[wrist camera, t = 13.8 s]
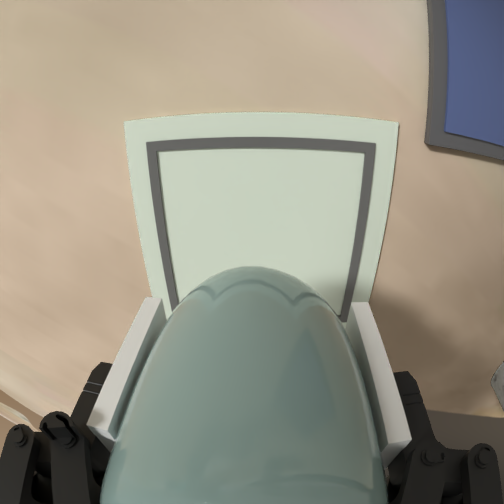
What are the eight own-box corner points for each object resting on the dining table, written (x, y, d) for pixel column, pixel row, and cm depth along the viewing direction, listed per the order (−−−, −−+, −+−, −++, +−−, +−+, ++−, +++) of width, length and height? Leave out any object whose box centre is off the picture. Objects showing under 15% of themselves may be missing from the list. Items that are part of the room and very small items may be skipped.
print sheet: (125, 121, 16) (122, 121, 16) (397, 122, 16) (399, 122, 15) (161, 327, 24) (160, 330, 24) (359, 331, 23) (360, 334, 23)
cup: (374, 301, 14) (438, 512, 5) (269, 383, 17) (263, 551, 8) (236, 199, 12) (163, 492, 3) (147, 319, 15) (76, 505, 6)
